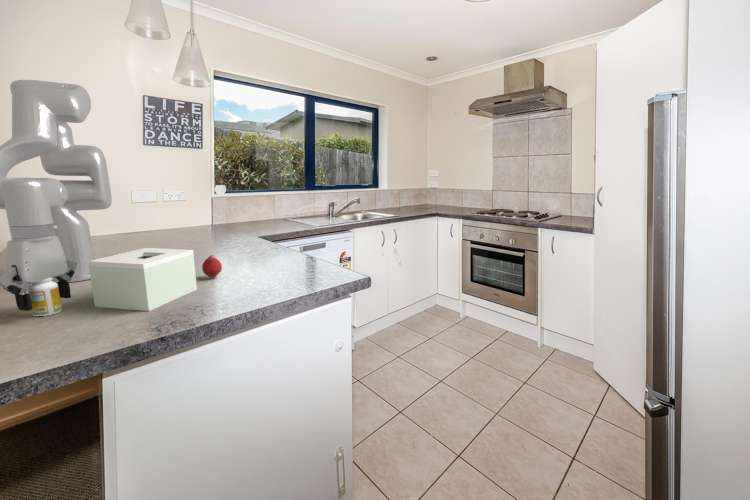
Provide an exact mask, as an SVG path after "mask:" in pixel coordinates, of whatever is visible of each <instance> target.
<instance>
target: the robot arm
mask: <svg viewBox="0 0 750 500" xmlns="http://www.w3.org/2000/svg"><path fill="white" fill-rule="evenodd" d="M9 86H10V87H9V90H10V93H11V137H10V139H8V140H7V141H6V142H4V143H2V144H1V145H0V210H5V213H6V218H7V224H8V228H9V234H10V239H11V240H7V242H6V248H5V249H6V252H5V259H6V272H4V273H3V274H2V275H1V276H0V287H2V289H3V290H4V291H7V292H8V293H10V294H12V295H14V297H15V303H16V307H17V308H18V310H20V311H27V312H30V311H32V309H33V308H32V303H31V298H30V294H29V293H27V292H28V288H29V286H30V285H31V284H32V283H34V282H38V281H42V280H44V279H47V278H53V279H52V281H53V282H56V283H57V284H58V288H59V294H60V299H61V298H62V299H71V297H72V294H71V287H70V283H74V282H76V283H77V282H81V281H88V280H91V278H90V271H89V265H88V261H91V260H95V259H94V258H95V256H94V250H93V246H92V245H93V244H92V238H91V232H90V225H89V223H88V221H87V220H86V219H85V217H83V216H82V215H81V214H79V213H78V211H96V210H107V209H108V208H110V207H111V205H112V201H113V199H112V190H111V186H110V185H111V184H110V177H109V172H108V165H107V161H106V156H105V153H104V152H103V151H102V150H101V148H99V147H97V146H94V145H84V144H82V145H81V144H75V142H74V137H73V136H74V135H73V130H72V127H71V126H70V125H69V123H70V124H71V123H73V124H76V123H77V124H80V123H81V124H82V123H84V122H85V121H86V119H87V117H88V116H89V114H90V112H91V109H92V102H91V101H92V100H91V97H90V94H89V92H88V91H87V89H86V88H85V87H84V86H82V85H79V84H75V83H74V84H73V83H65V82H56V81H55V82H53V81H49V80H48V81H46V80H39V79H38V80H37V79H17V80H14V81H12V82H11V83H10V85H9ZM38 157H39V158H40V162H41V166H42V168H43V170H44V171H45V172H46V173H47V174H49V175H52V176H60V177H72V176H73V177H89V178H90V179H91V180H90V179H89V180H82V179H81V180H78V179H77V180H76V179H74V180H73V179H68V180H67V179H59V180H58V179H55V178H52V177H7V175H8V174H9V172H10V171H11V169H13V168H14V167H15V166H18V165H19V164H21V163H24V162H26V161H29V160H32V159H34V158H38ZM12 283H14V284H12Z"/></svg>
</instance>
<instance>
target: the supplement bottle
mask: <svg viewBox="0 0 750 500" xmlns="http://www.w3.org/2000/svg"><path fill="white" fill-rule="evenodd" d="M27 292H28V293H27V294H30V298H31V303H32V308H33V309H32V310H31V312H32V316H33V317H35V316H45V317H48V316H47V315H50V316H53V315H52V314H54V315H57V314H60V313H61V312H62V311H63V306H62V305H63V304H62V300H61V298H60V294H59V288H58V284H57V283H56V282H55V281H53V278H47V279H44V280H42V281H38V282H34V283H31V284H30V286H29V288H28V290H27ZM56 313H57V314H56Z"/></svg>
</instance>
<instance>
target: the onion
mask: <svg viewBox="0 0 750 500" xmlns="http://www.w3.org/2000/svg"><path fill="white" fill-rule="evenodd" d="M201 267H202V272H203V274H204V275H205V276H207V277H209V278H211V279H215V278H217V276H218V275H219V274H220V273H221V272H222V269H223V266H222V263H221V261H220V260H219V259H217V258H216V257H214V254H209V255H208V257H207V258H206V259H205V260H204V262H203V263H202V265H201Z"/></svg>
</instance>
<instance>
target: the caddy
mask: <svg viewBox="0 0 750 500" xmlns="http://www.w3.org/2000/svg"><path fill="white" fill-rule="evenodd" d="M194 255H195V253H194V250H193V249H180V248H179V249H176V248H159V247H158V248H155V247H154V248H153V247H144V248H143V247H142V248H139V249H134V250H131V251H126V252H122V253H119V254H113V255H109V256H105V257H104V256H103V257H100V258H96V259H94V260H91V261H88V265H89V271H90V278H91V279H90V282H91V283H90V284H91V290H92V296H93V302H94V307H95V308H107V309H117V310H118V309H119V310H132V311H142V312H150V311H152V310H155V309H157V308H160V307H162V306H164V305H166V304H168V303H171V302H173V301H175V300H177V299H179V298H181V297H182V298H183V296H186V295H188V294H190V293H193V292H195V291H197V290H198V286H197V285H198V284H197V276H196V275H197V274H196V266H195V265H196V264H195V256H194Z"/></svg>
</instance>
